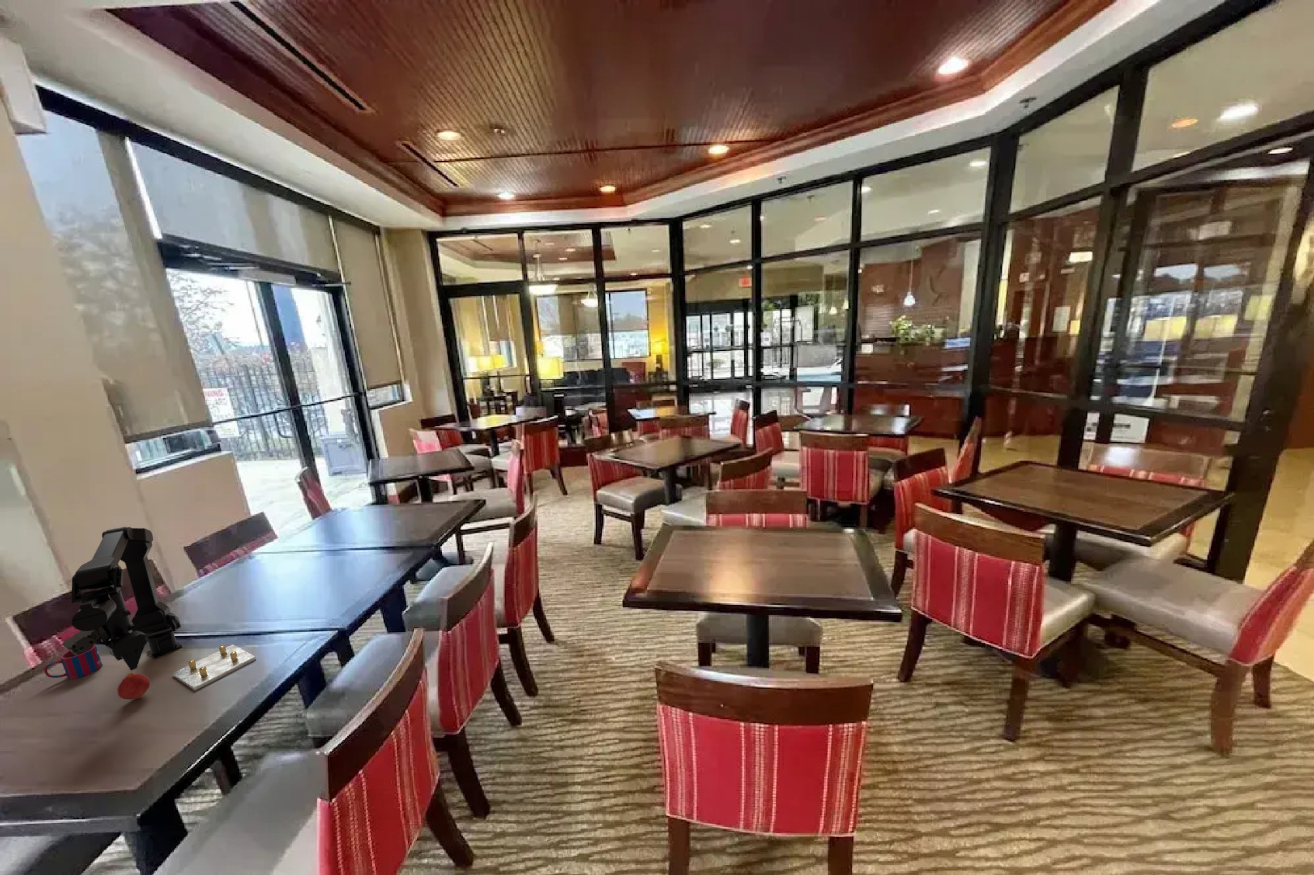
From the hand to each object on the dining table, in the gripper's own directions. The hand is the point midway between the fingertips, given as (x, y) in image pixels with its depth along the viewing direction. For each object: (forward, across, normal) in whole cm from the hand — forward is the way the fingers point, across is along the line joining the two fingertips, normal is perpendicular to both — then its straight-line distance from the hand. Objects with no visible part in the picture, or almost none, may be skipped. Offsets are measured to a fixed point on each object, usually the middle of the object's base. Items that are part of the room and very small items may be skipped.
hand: (127, 664), depth 125 cm
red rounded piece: (+11, 0, 0) cm, 11 cm away
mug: (+11, -32, -4) cm, 34 cm away
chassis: (+10, +4, +15) cm, 19 cm away
